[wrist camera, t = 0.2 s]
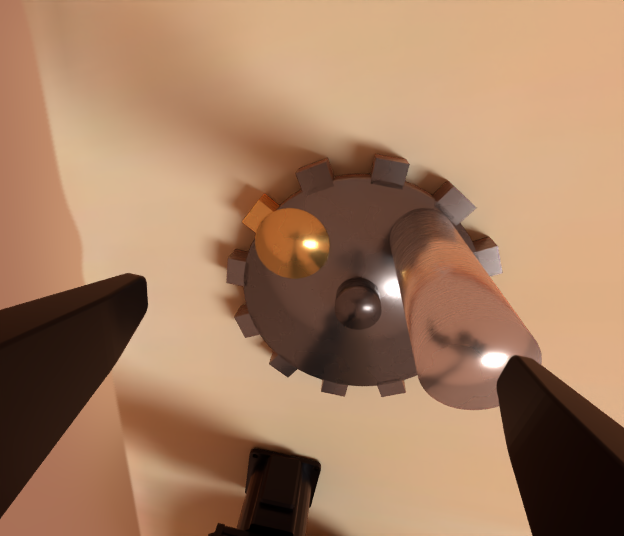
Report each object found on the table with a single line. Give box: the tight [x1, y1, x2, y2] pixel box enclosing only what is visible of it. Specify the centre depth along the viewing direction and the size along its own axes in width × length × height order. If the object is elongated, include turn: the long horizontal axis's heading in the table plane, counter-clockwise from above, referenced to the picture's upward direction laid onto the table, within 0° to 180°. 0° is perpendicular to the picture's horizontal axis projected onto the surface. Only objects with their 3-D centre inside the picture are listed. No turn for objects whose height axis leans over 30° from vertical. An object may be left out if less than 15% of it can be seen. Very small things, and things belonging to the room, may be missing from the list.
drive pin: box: [390, 208, 542, 410], centre depth 16 cm, size 4×4×11 cm
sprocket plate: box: [227, 154, 503, 397], centre depth 23 cm, size 17×17×3 cm
